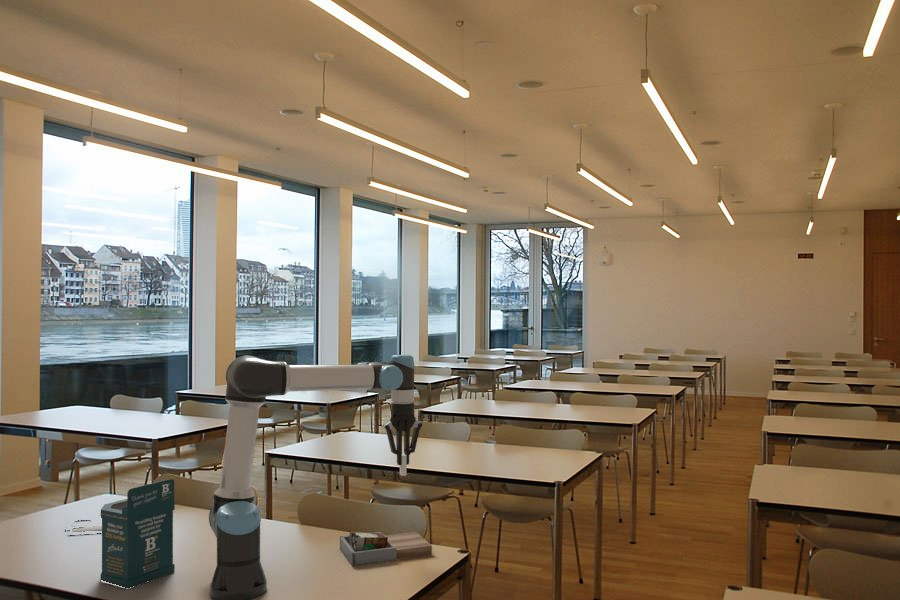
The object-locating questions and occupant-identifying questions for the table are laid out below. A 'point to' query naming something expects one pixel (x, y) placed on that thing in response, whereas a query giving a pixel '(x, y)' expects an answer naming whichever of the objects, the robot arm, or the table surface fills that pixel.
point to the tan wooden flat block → (409, 545)
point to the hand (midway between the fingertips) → (403, 474)
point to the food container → (367, 541)
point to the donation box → (138, 535)
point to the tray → (366, 554)
